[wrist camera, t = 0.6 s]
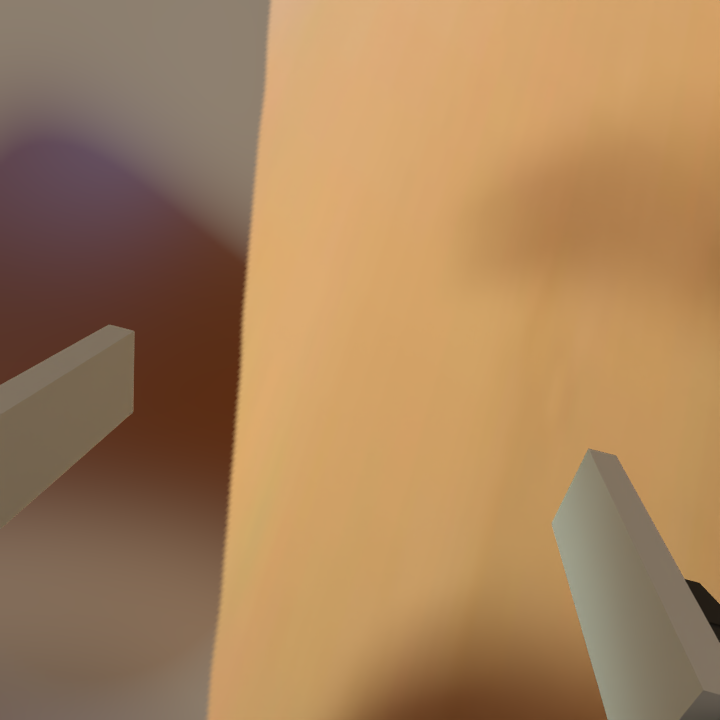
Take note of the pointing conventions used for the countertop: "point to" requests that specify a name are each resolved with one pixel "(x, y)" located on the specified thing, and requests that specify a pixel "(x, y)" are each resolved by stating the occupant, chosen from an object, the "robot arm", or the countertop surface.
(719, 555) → the countertop surface
